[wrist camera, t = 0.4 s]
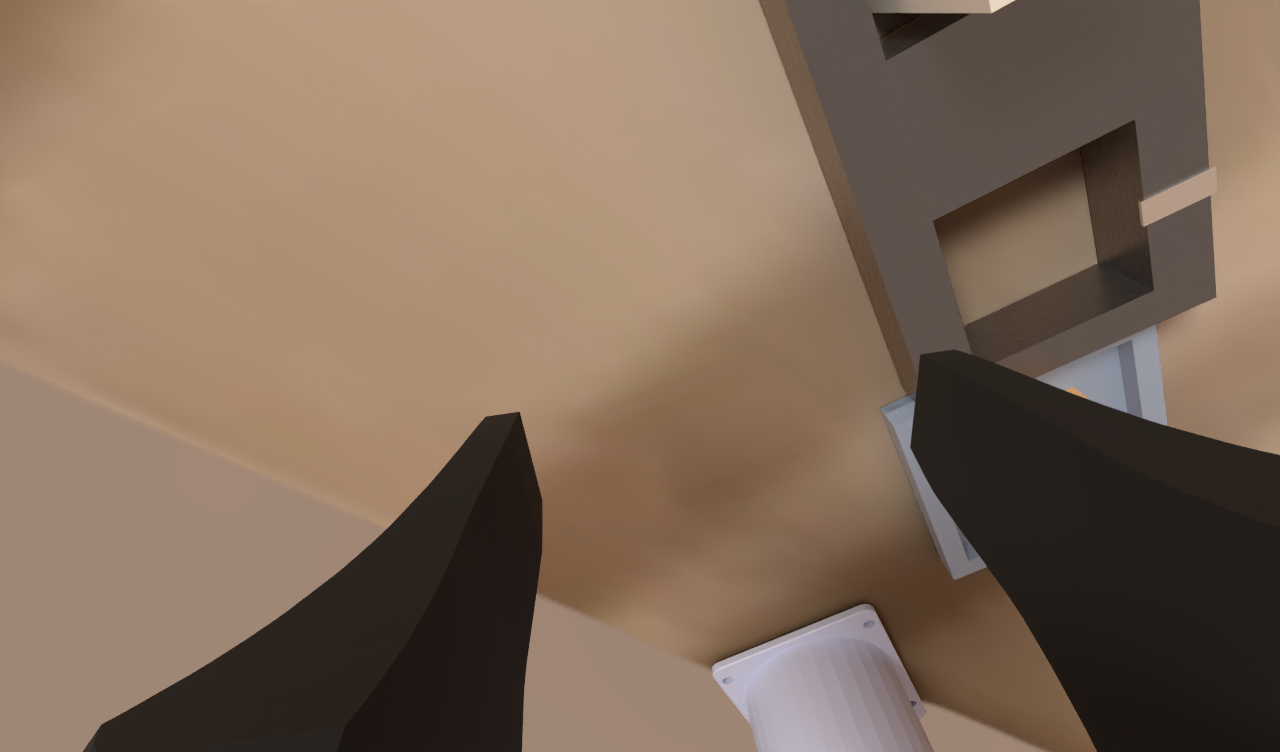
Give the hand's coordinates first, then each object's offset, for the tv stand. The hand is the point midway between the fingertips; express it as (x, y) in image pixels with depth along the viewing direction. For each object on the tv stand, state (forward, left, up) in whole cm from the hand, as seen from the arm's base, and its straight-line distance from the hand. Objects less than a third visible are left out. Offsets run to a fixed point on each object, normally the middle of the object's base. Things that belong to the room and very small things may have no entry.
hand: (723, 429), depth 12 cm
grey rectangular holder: (0, -10, -10) cm, 14 cm away
